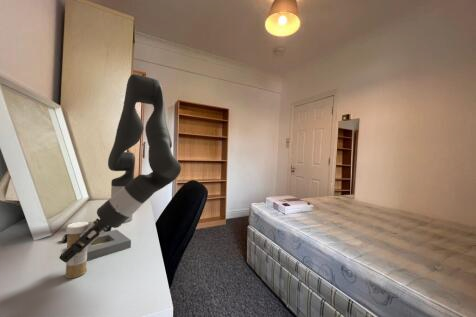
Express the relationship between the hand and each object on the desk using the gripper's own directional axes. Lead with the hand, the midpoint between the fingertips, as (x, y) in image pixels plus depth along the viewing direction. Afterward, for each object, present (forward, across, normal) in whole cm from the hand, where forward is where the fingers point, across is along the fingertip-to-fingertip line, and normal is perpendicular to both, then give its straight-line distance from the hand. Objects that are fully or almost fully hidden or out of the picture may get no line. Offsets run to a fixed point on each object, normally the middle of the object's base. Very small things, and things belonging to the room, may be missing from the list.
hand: (70, 252), depth 52 cm
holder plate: (+2, -16, +6) cm, 17 cm away
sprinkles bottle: (+3, 0, +6) cm, 6 cm away
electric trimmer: (+8, -27, +1) cm, 29 cm away
